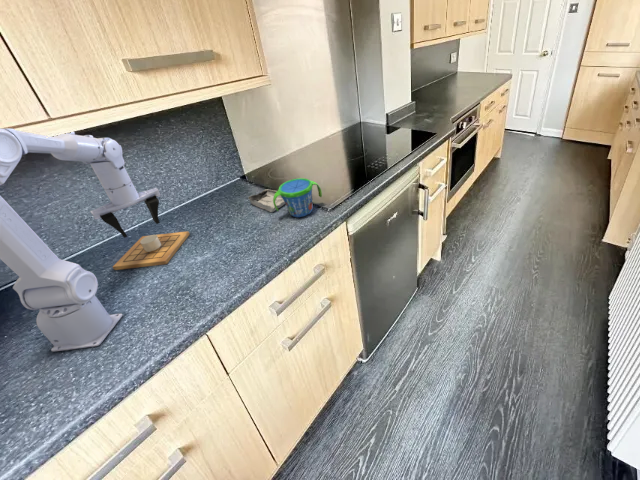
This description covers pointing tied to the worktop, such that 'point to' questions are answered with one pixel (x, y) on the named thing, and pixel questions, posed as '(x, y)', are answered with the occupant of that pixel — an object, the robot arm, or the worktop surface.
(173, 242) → the board
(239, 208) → the worktop surface
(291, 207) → the snack cup
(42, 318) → the robot arm
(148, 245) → the cream cylinder puck
